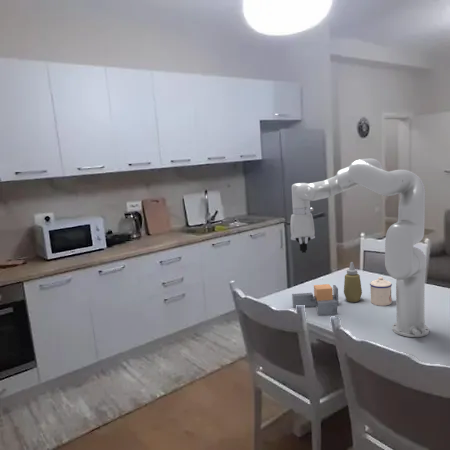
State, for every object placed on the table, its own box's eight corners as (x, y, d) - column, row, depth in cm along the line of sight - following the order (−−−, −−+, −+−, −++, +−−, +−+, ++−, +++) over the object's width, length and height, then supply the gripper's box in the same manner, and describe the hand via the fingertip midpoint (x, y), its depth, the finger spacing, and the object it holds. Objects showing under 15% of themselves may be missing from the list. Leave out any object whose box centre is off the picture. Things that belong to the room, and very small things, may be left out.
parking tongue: (337, 314, 175) (337, 301, 174) (318, 315, 175) (318, 303, 175) (335, 311, 178) (335, 299, 177) (317, 312, 178) (316, 300, 178)
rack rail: (338, 305, 185) (337, 288, 184) (293, 308, 186) (292, 291, 184) (333, 298, 194) (332, 282, 193) (290, 301, 195) (290, 285, 194)
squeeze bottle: (365, 299, 190) (364, 261, 188) (357, 304, 185) (356, 265, 182) (348, 296, 196) (347, 259, 193) (340, 301, 190) (339, 263, 187)
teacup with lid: (395, 305, 180) (394, 279, 178) (373, 306, 180) (372, 281, 179) (386, 296, 191) (386, 272, 190) (366, 297, 192) (365, 273, 190)
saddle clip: (332, 303, 185) (332, 288, 184) (317, 304, 185) (316, 289, 184) (329, 298, 191) (328, 284, 190) (314, 299, 191) (313, 285, 190)
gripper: (316, 208, 185) (318, 249, 187) (283, 211, 185) (285, 251, 188) (320, 211, 177) (322, 252, 180) (285, 213, 178) (287, 255, 181)
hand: (303, 251), depth 184 cm, fingers closed
